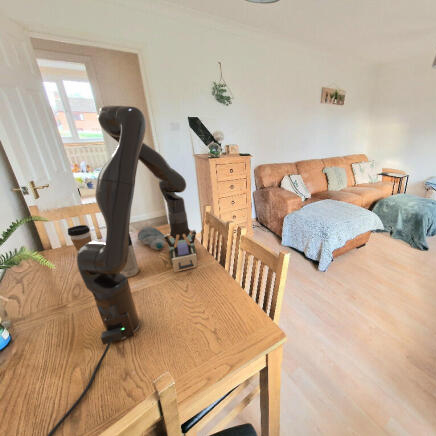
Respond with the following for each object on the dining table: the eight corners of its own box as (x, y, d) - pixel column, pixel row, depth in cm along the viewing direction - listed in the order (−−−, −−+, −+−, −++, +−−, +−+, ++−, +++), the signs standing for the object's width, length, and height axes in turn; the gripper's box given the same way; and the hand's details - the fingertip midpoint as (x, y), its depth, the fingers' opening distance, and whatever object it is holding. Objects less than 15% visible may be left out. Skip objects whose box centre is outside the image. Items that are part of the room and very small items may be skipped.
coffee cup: (71, 255, 121) (61, 229, 115) (89, 248, 129) (80, 222, 123) (83, 259, 119) (74, 232, 113) (100, 251, 127) (92, 225, 121)
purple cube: (188, 253, 114) (187, 246, 112) (178, 255, 112) (177, 248, 110) (187, 249, 117) (186, 242, 116) (177, 251, 115) (176, 244, 113)
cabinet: (196, 259, 123) (194, 245, 120) (171, 265, 118) (169, 249, 114) (192, 247, 134) (190, 234, 130) (169, 252, 128) (167, 238, 125)
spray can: (142, 269, 113) (133, 231, 105) (132, 278, 107) (121, 238, 99) (129, 268, 114) (119, 230, 106) (118, 276, 107) (106, 237, 100)
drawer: (199, 272, 112) (197, 259, 109) (175, 278, 107) (172, 265, 104) (193, 254, 126) (192, 243, 123) (172, 259, 121) (170, 247, 118)
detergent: (135, 239, 140) (145, 256, 123) (134, 227, 138) (144, 243, 120) (160, 234, 148) (172, 250, 131) (159, 224, 146) (171, 238, 129)
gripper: (160, 225, 101) (167, 259, 108) (196, 219, 108) (200, 252, 114) (160, 218, 107) (166, 251, 114) (193, 214, 114) (197, 245, 120)
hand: (183, 251), depth 114 cm, fingers closed on purple cube, 4 cm apart
